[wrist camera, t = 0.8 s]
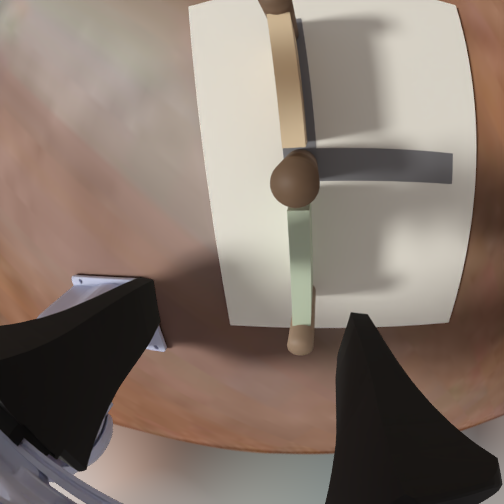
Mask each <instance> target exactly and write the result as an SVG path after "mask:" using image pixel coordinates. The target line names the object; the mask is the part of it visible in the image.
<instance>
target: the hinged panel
mask: <svg viewBox="0 0 504 504" xmlns="http://www.w3.org/2000/svg"><path fill="white" fill-rule="evenodd" d="M287 220H288V236H289V254H290V274H291V298H292V318H291V324H290V331H289V337H288V343H287V348H288V350H289V351H290V352H291V353H293V354H295V355H300V356H302V355H307V354H309V353H310V352H311V351H312V350H313V346H314V327H315V301H316V289H315V287H314V285H313V246H312V213H311V203H310V204H308V205H307V206H304V207H301V208H291V207H288V209H287Z"/></svg>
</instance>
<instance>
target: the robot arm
mask: <svg viewBox="0 0 504 504" xmlns="http://www.w3.org/2000/svg"><path fill="white" fill-rule="evenodd" d="M72 282H73V285H74V286H73V287H72V288H70V289H69V290H68V291H67V292H66V293H64V294H63V295H62V296H61V297H60V298H58V299H57V300H56V301H55V302H54V303H52V304H51V305H50V306H49V307H48V308H47V309H45V310H44V311H43V312H42V313H41V314H40V315H39V316H38V317H37V319H34V320H30V321H26V322H22V323H16V324H10V325H3V326H0V504H77V503H75V502H74V501H72V500H71V499H69V498H68V497H66V496H64V495H63V494H61V493H60V492H58V491H57V490H56V489H54V488H53V487H51V486H50V485H49V482H55V483H56V484H58V485H59V486H61V487H62V488H64V489H65V490H66V491H68V492H69V493H71V494H72V495H74V496H75V497H77V498H78V499H80V500H81V501H83V502H85V503H86V504H123V503H120V502H119V501H117V500H115V499H113V498H111V497H109V496H107V495H105V494H104V493H102V492H100V491H98V490H96V489H95V488H93V487H91V486H90V485H88V484H86V483H85V482H83V481H81V480H80V479H78V478H77V477H75V476H74V475H73V474H75V473H76V472H78V471H84V470H86V469H87V466H89V465H91V464H92V463H94V462H95V461H96V460H97V459H98V458H99V457H100V456H101V455H102V454H103V452H104V451H105V450H106V448H107V446H108V444H109V442H110V440H111V437H112V433H113V420H112V417H111V416H110V415H109V414H108V412H109V410H110V409H111V407H112V406H113V403H112V400H113V398H114V396H115V394H116V392H117V390H118V389H119V387H120V385H121V384H122V382H123V381H124V379H125V378H126V376H127V375H128V374H129V372H130V371H131V369H132V368H133V366H134V365H135V364H136V362H137V361H138V359H139V358H140V356H141V355H142V353H143V352H144V351H145V349H150V350H156V351H162V352H164V351H165V350H166V349H167V346H166V343H165V341H164V338H163V335H162V332H161V329H160V326H159V324H160V317H159V311H158V306H157V300H156V294H155V287H154V281H153V280H151V279H147V278H142V277H139V278H122V277H103V276H85V275H74V276H72ZM501 486H502V479H501V473H500V468H499V463H498V458H496V457H495V456H494V455H492V454H491V453H489V452H488V451H486V450H485V449H483V448H481V447H480V446H479V445H477V444H476V443H474V442H473V441H472V440H470V439H469V438H468V437H467V436H465V435H464V434H463V433H462V432H460V431H459V430H458V429H457V428H456V427H455V426H453V425H452V424H451V423H450V422H449V421H448V420H447V419H446V418H445V417H444V416H443V415H442V414H441V413H440V412H439V411H438V410H437V409H436V408H435V407H434V406H433V405H432V404H431V403H430V402H429V401H428V400H427V398H426V397H425V396H424V395H423V394H422V393H421V391H420V390H419V389H418V388H417V387H416V386H415V384H414V383H413V382H412V381H411V379H410V378H409V377H408V375H407V374H406V372H405V371H404V370H403V368H402V367H401V366H400V364H399V363H398V361H397V360H396V358H395V357H394V355H393V354H392V352H391V351H390V349H389V348H388V346H387V344H386V343H385V341H384V340H383V338H382V336H381V335H380V333H379V331H378V330H377V328H376V327H375V325H374V323H373V322H372V320H371V318H370V317H369V315H368V314H362V313H353V312H351V313H350V316H349V320H348V323H347V327H346V330H345V333H344V336H343V340H342V343H341V346H340V349H339V352H338V356H337V368H336V446H335V454H334V461H333V468H332V474H331V479H330V484H329V490H328V494H327V498H326V502H325V504H479V503H481V502H483V501H484V500H486V499H488V498H489V497H491V496H492V495H494V494H495V493H496V492H497V491H499V489H500V488H501Z"/></svg>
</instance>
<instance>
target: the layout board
mask: <svg viewBox="0 0 504 504" xmlns="http://www.w3.org/2000/svg"><path fill="white" fill-rule="evenodd" d="M292 2H293V7H294V12H295V17H296V22H297V27H298V33H299V36H298V39H297V40H296V43H297V50H298V57H299V65H300V73H301V81H302V90H303V99H304V109H305V120H306V131H307V145H306V147H298V148H282V142H281V132H280V121H279V111H278V102H277V93H276V84H275V75H274V67H273V59H272V51H271V43H270V35H269V28H268V21H267V18H266V16H265V14H264V12H263V10H262V8H261V6H260V4H259V2H258V0H212V1H208V2H204V3H200V4H197V5H193V6H189V20H190V32H191V44H192V55H193V65H194V75H195V85H196V94H197V103H198V112H199V121H200V129H201V137H202V145H203V153H204V161H205V168H206V176H207V183H208V190H209V197H210V204H211V211H212V218H213V224H214V231H215V237H216V244H217V250H218V256H219V262H220V268H221V274H222V280H223V286H224V292H225V298H226V303H227V309H228V315H229V320H230V325H238V326H257V327H285V328H290V324H291V318H292V298H291V274H290V254H289V236H288V220H287V209H288V207H287V206H285V205H283V204H281V203H280V202H278V201H277V200H276V198H275V197H274V196H273V194H272V192H271V188H270V178H271V174H272V172H273V170H274V169H275V168H276V167H277V166H278V164H279V163H280V162H281V161H282V160H283V159H284V158H285V157H286V156H287V155H288V154H289V153H290V152H292V151H293V150H296V149H304V150H307V151H309V152H311V153H312V154H313V155H314V156H315V158H316V160H317V165H318V172H319V180H320V188H319V192H318V194H317V196H316V198H315V199H314V200H313V201H312V202H311V213H312V246H313V285H314V287H315V289H316V301H315V327H314V328H346V327H347V323H348V320H349V316H350V313H351V312H353V313H362V314H368V315H369V317H370V318H371V320H372V322H373V323H374V325H375V327H391V326H410V325H425V324H437V323H449V319H450V316H451V313H452V310H453V306H454V303H455V299H456V295H457V292H458V288H459V284H460V280H461V275H462V271H463V266H464V262H465V257H466V252H467V246H468V240H469V234H470V227H471V220H472V212H473V203H474V192H475V177H476V119H475V105H474V94H473V85H472V78H471V71H470V65H469V59H468V53H467V48H466V44H465V39H464V35H463V31H462V27H461V23H460V19H459V15H458V12H457V9H456V5H452V4H449V3H445V2H441V1H437V0H292Z"/></svg>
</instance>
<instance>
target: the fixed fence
mask: <svg viewBox="0 0 504 504" xmlns="http://www.w3.org/2000/svg"><path fill="white" fill-rule="evenodd" d="M258 2H259V4H260V6H261V8H262V10H263V12H264V14H265V16H266V18H267V21H268V28H269V35H270V43H271V51H272V59H273V67H274V75H275V84H276V93H277V102H278V111H279V121H280V132H281V142H282V148H298V147H306V145H307V131H306V120H305V109H304V99H303V90H302V81H301V73H300V65H299V57H298V50H297V43H296V40H297V39H298V36H299V33H298V27H297V22H296V17H295V12H294V7H293V2H292V0H258ZM270 188H271V192H272V194H273V196H274V197H275V198H276V200H277V201H278V202H280V203H281V204H283V205H285V206H287V207H291V208H301V207H304V206H307V205H308V204H310V203H311V202H312V201H313V200H314V199H315V198H316V196H317V194H318V192H319V188H320V180H319V172H318V165H317V160H316V158H315V156H314V155H313V154H312V153H311V152H309V151H307V150H304V149H296V150H293V151H292V152H290V153H289V154H288V155H287V156H286V157H285V158H284V159H283V160H282V161H281V162H280V163H279V164H278V166H277V167H276V168H275V169H274V170H273V172H272V174H271V178H270Z"/></svg>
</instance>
